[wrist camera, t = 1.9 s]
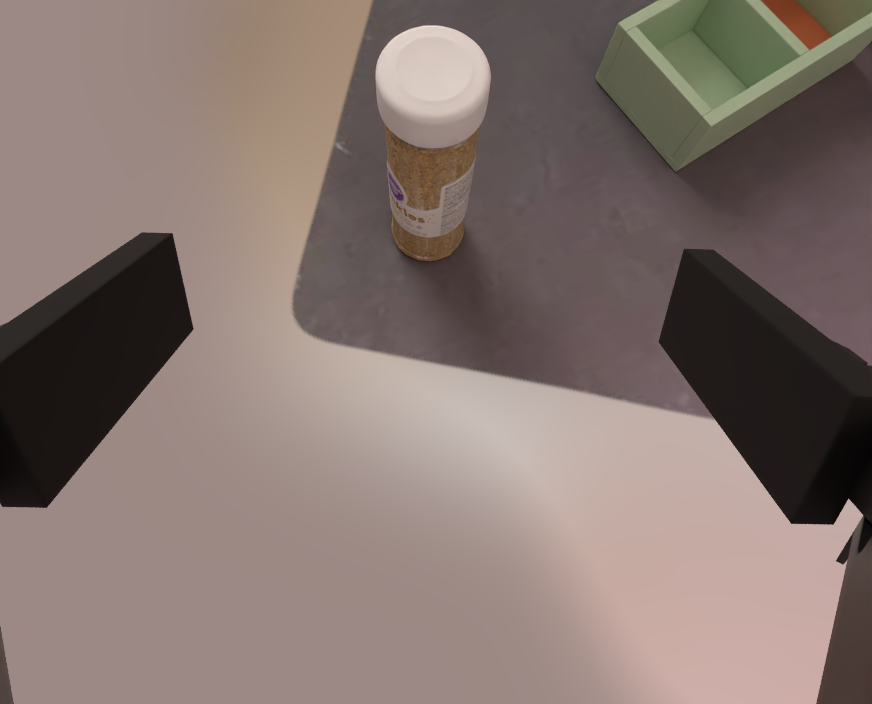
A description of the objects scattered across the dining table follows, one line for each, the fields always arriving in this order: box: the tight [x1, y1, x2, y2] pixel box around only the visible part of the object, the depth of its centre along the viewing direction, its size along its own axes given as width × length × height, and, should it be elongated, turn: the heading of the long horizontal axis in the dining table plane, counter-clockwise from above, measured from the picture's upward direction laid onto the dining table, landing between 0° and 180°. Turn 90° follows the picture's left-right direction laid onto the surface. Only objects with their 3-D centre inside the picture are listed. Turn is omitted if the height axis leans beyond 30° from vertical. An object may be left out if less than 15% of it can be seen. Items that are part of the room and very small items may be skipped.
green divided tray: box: [595, 0, 872, 172], centre depth 35 cm, size 9×16×5 cm, turn 124°
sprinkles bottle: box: [376, 26, 491, 261], centre depth 27 cm, size 5×5×14 cm
